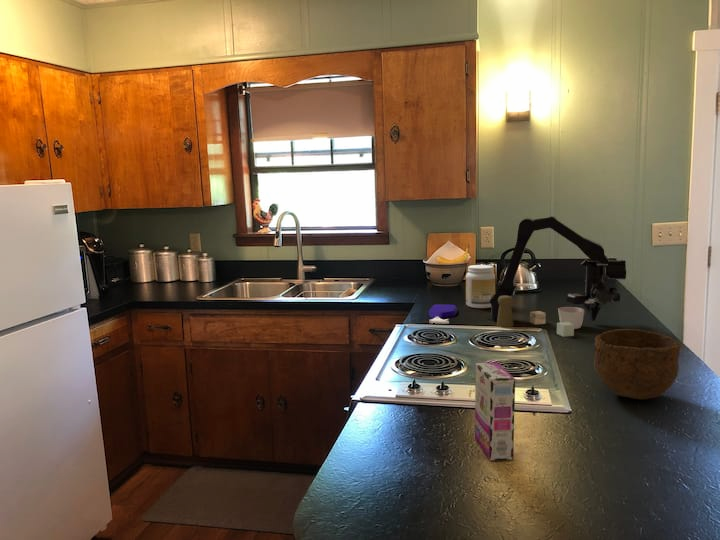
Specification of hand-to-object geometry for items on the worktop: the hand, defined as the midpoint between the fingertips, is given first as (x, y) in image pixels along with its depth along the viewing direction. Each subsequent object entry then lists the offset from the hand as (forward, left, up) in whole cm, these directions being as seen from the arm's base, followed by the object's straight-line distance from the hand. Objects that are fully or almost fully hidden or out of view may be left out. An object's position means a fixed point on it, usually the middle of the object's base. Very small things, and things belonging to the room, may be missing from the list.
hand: (592, 320), depth 215 cm
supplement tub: (-43, -24, -2) cm, 50 cm away
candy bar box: (+82, -79, -2) cm, 114 cm away
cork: (-9, -30, -2) cm, 31 cm away
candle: (0, -9, -2) cm, 9 cm away
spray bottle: (-30, -47, -2) cm, 55 cm away
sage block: (+9, -17, -2) cm, 19 cm away
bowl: (+66, -34, -2) cm, 74 cm away
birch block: (-9, -17, -2) cm, 19 cm away
